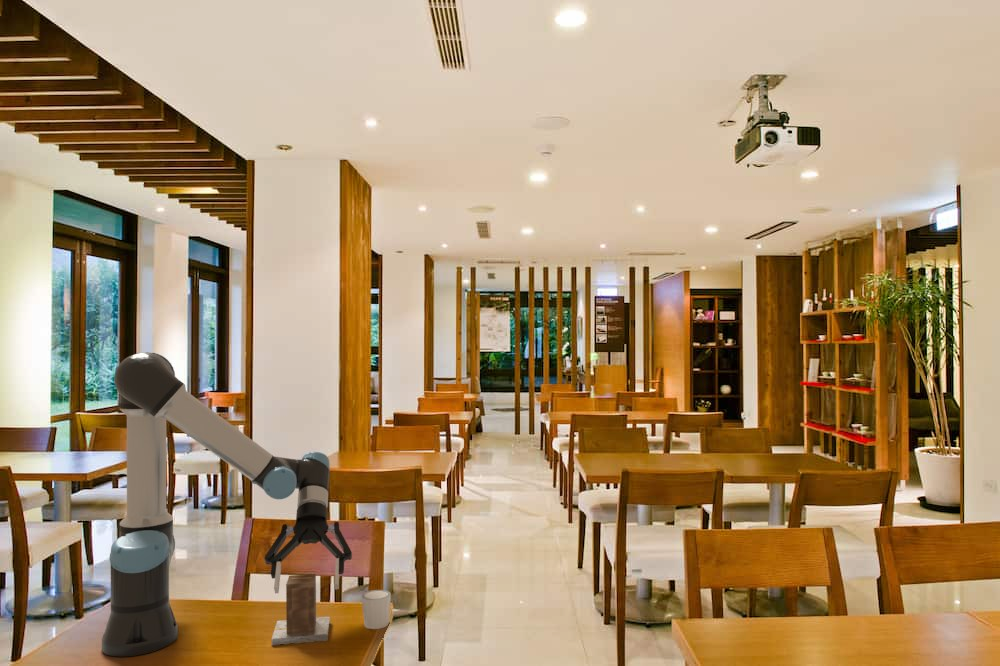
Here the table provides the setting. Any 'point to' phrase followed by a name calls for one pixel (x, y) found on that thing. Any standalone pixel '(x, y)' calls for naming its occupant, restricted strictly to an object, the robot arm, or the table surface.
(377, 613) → the white cup
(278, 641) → the grey stand base
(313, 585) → the brown slotted box
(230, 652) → the table surface
